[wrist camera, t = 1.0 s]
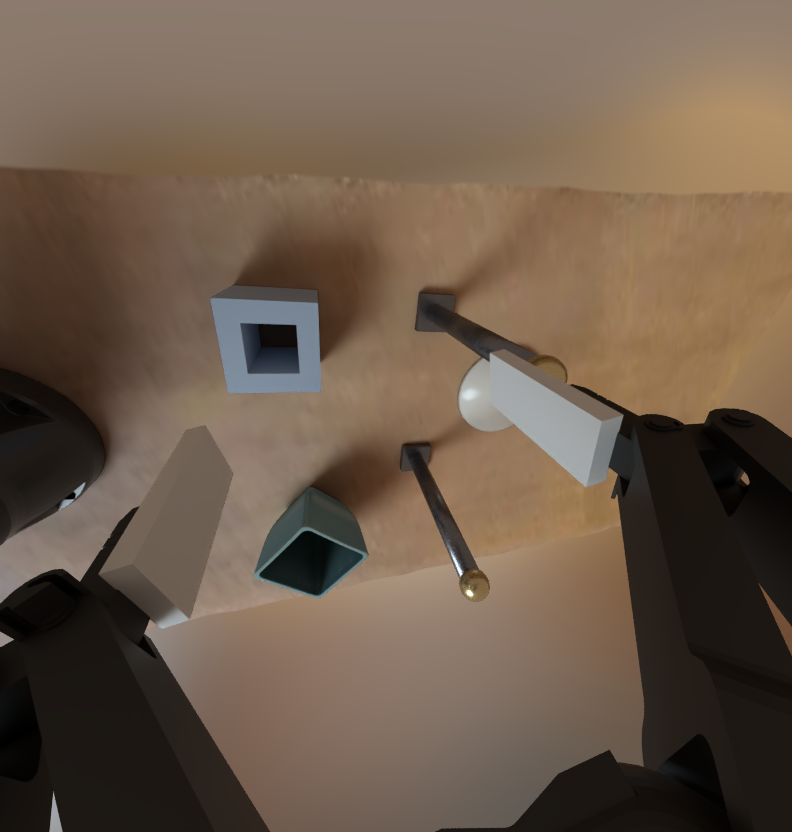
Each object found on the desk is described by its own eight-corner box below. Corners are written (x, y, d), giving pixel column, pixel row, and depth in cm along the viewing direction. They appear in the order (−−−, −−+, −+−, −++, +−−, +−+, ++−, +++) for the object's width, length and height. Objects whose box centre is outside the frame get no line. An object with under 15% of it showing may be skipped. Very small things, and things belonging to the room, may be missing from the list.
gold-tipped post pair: (399, 467, 41) (455, 616, 25) (418, 292, 30) (536, 351, 14) (425, 465, 42) (496, 608, 25) (452, 294, 31) (600, 352, 15)
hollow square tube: (245, 362, 30) (228, 393, 24) (233, 285, 27) (209, 297, 21) (319, 363, 32) (321, 391, 26) (317, 289, 28) (318, 303, 22)
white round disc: (450, 430, 40) (452, 433, 39) (467, 346, 34) (469, 348, 34) (525, 426, 42) (528, 429, 42) (551, 347, 37) (555, 349, 37)
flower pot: (262, 513, 39) (250, 579, 32) (306, 468, 38) (304, 526, 30) (318, 537, 44) (319, 600, 36) (360, 497, 42) (370, 555, 34)
